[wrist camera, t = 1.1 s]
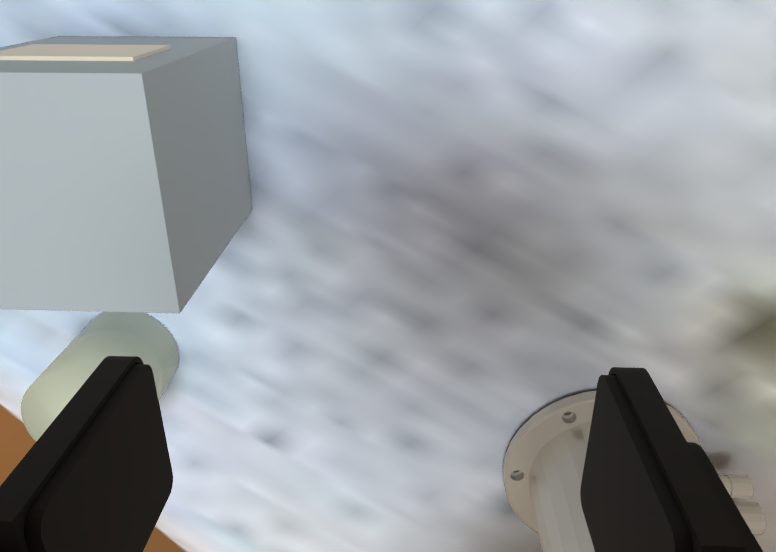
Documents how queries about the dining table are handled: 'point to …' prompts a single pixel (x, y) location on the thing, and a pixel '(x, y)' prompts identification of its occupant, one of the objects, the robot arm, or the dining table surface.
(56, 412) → the sage mug
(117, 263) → the grey box
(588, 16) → the dining table surface
